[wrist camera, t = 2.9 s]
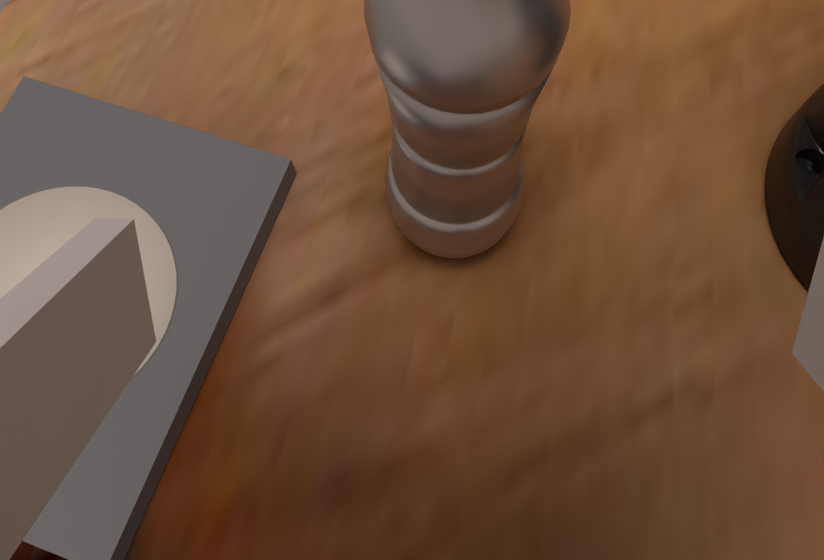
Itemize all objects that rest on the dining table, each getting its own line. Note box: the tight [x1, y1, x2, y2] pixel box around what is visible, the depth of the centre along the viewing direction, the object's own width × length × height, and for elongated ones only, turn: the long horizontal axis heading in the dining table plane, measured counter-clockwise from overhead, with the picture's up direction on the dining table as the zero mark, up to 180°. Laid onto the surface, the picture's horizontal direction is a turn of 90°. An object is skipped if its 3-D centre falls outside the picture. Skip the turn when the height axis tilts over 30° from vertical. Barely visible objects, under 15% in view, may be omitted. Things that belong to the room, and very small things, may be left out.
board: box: [0, 76, 296, 560], centre depth 34 cm, size 20×15×2 cm
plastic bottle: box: [364, 0, 571, 258], centre depth 26 cm, size 6×7×20 cm
